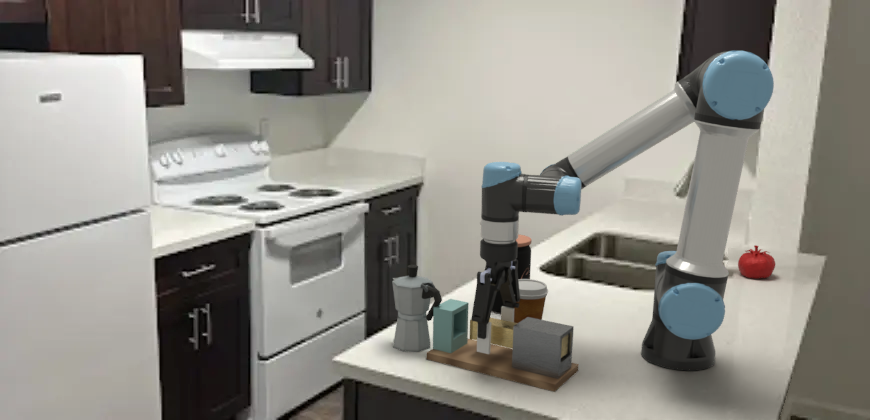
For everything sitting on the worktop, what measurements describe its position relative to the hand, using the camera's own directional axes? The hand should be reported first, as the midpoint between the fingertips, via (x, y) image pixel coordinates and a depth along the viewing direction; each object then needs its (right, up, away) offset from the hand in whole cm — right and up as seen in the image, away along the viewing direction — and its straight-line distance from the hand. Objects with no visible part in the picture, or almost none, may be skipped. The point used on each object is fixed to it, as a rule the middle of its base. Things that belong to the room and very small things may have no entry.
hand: (495, 344), depth 167 cm
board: (+1, -4, 0) cm, 4 cm away
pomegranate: (+81, +8, +69) cm, 106 cm away
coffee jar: (+6, +3, +36) cm, 37 cm away
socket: (-9, -1, +6) cm, 11 cm away
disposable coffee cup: (+8, -1, +18) cm, 20 cm away
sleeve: (+9, -4, -5) cm, 11 cm away
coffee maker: (-17, -2, +10) cm, 20 cm away
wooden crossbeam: (+4, 0, -3) cm, 5 cm away
